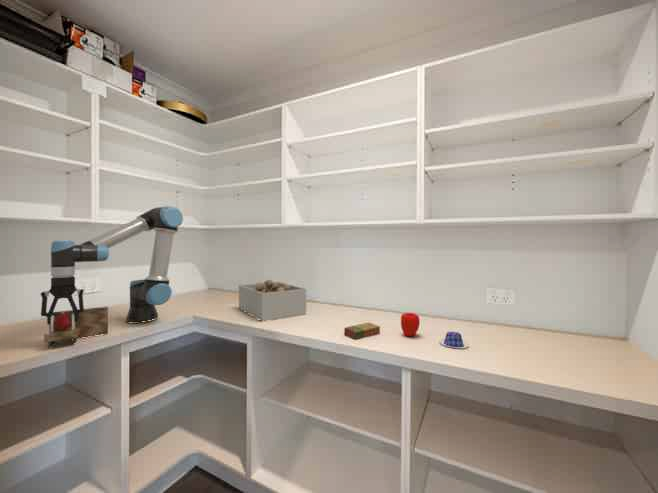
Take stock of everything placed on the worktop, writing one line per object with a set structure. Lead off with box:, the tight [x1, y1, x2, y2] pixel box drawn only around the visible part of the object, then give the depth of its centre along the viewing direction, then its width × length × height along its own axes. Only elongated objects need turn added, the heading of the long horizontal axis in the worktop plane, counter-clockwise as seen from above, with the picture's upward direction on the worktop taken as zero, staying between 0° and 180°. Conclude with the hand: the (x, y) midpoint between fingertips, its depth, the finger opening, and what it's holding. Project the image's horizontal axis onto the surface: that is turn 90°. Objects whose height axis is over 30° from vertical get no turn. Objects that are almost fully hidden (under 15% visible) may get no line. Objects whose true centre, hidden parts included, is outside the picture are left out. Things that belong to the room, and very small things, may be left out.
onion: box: [54, 312, 72, 331], centre depth 121 cm, size 6×6×8 cm
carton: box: [343, 321, 381, 341], centre depth 138 cm, size 8×16×4 cm, turn 125°
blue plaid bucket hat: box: [439, 331, 470, 349], centre depth 125 cm, size 12×12×5 cm
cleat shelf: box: [43, 329, 80, 349], centre depth 121 cm, size 10×11×7 cm
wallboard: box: [48, 306, 109, 343], centre depth 129 cm, size 20×2×13 cm, turn 127°
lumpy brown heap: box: [255, 279, 291, 293], centre depth 183 cm, size 38×26×20 cm
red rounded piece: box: [400, 312, 420, 337], centre depth 136 cm, size 9×9×11 cm
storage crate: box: [238, 281, 307, 322], centre depth 182 cm, size 29×38×16 cm
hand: (63, 330), depth 122 cm, fingers closed on onion, 6 cm apart
